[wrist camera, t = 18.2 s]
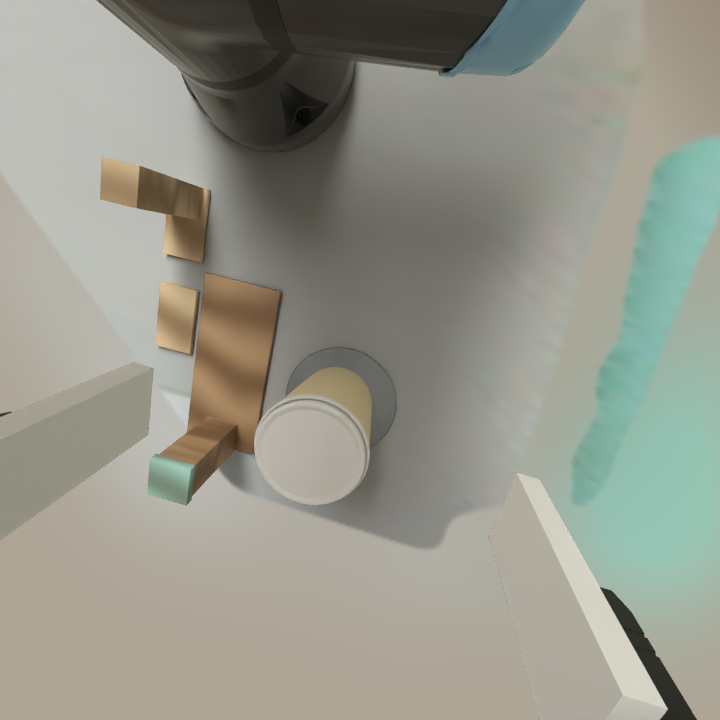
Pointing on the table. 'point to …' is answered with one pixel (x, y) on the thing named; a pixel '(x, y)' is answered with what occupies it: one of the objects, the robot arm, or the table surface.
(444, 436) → the table surface
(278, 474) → the coffee cup
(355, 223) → the table surface
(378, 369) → the coaster
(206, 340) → the wooden l bracket
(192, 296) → the broken strip
